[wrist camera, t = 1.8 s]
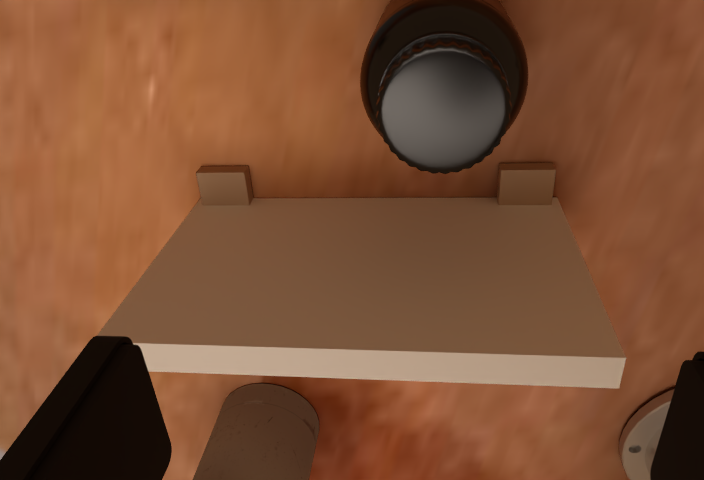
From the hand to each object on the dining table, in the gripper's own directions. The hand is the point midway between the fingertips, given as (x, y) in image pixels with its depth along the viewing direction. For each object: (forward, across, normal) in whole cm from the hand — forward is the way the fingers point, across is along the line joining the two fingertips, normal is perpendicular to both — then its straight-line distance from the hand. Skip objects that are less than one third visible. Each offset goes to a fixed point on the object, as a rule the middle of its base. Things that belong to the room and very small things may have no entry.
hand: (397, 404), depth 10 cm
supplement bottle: (+25, -1, -1) cm, 25 cm away
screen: (+25, +3, +9) cm, 26 cm away
